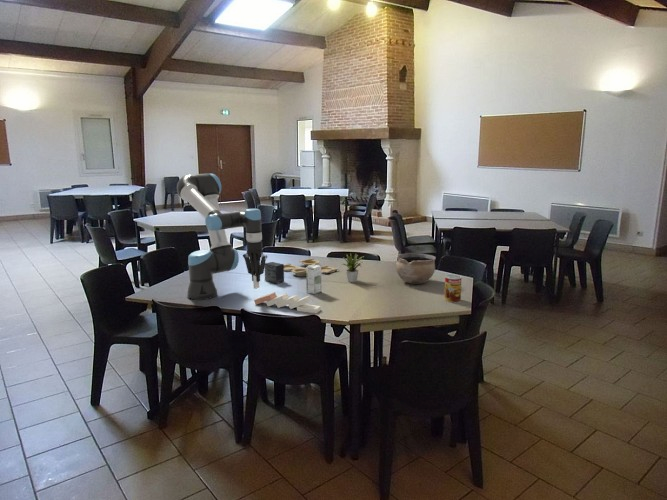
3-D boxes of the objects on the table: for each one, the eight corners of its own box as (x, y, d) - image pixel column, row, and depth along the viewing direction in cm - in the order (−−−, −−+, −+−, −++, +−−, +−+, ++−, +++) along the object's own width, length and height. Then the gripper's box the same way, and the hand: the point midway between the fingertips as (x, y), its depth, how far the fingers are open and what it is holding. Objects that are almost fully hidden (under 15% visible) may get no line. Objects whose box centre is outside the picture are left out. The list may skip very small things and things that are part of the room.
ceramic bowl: (387, 282, 280) (387, 256, 276) (409, 275, 295) (410, 250, 292) (421, 290, 265) (421, 262, 262) (442, 281, 280) (443, 255, 277)
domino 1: (253, 300, 244) (269, 295, 240) (259, 297, 249) (275, 292, 244) (255, 304, 244) (271, 299, 240) (261, 301, 249) (276, 296, 244)
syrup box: (313, 290, 267) (312, 263, 264) (321, 292, 264) (321, 265, 261) (306, 292, 263) (305, 266, 260) (314, 294, 259) (314, 267, 256)
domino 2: (265, 302, 241) (281, 296, 237) (271, 299, 246) (286, 293, 241) (267, 306, 241) (283, 300, 237) (272, 303, 246) (288, 297, 241)
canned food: (450, 303, 242) (451, 279, 240) (441, 299, 249) (441, 275, 247) (463, 301, 245) (464, 277, 243) (454, 296, 252) (454, 274, 250)
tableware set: (342, 272, 304) (341, 266, 304) (300, 280, 288) (300, 273, 288) (311, 262, 333) (311, 256, 332) (272, 268, 317) (272, 262, 316)
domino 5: (297, 306, 234) (316, 309, 230) (301, 303, 239) (320, 306, 235) (297, 311, 235) (316, 314, 231) (301, 308, 239) (320, 310, 235)
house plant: (363, 285, 275) (363, 256, 271) (338, 284, 277) (338, 255, 274) (366, 278, 288) (366, 251, 285) (343, 277, 291) (342, 250, 288)
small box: (285, 281, 285) (284, 263, 283) (276, 284, 280) (275, 266, 278) (273, 278, 292) (272, 261, 290) (264, 280, 287) (263, 263, 285)
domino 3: (276, 303, 239) (292, 297, 235) (281, 300, 243) (297, 294, 239) (277, 308, 239) (294, 302, 235) (282, 305, 243) (299, 299, 239)
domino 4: (288, 304, 236) (305, 298, 232) (293, 301, 241) (310, 295, 236) (290, 309, 236) (307, 302, 232) (295, 306, 241) (312, 299, 236)
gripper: (238, 241, 240) (241, 288, 245) (261, 243, 234) (263, 291, 239) (247, 238, 246) (249, 284, 251) (269, 240, 241) (271, 287, 246)
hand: (256, 287), depth 245 cm, fingers closed
